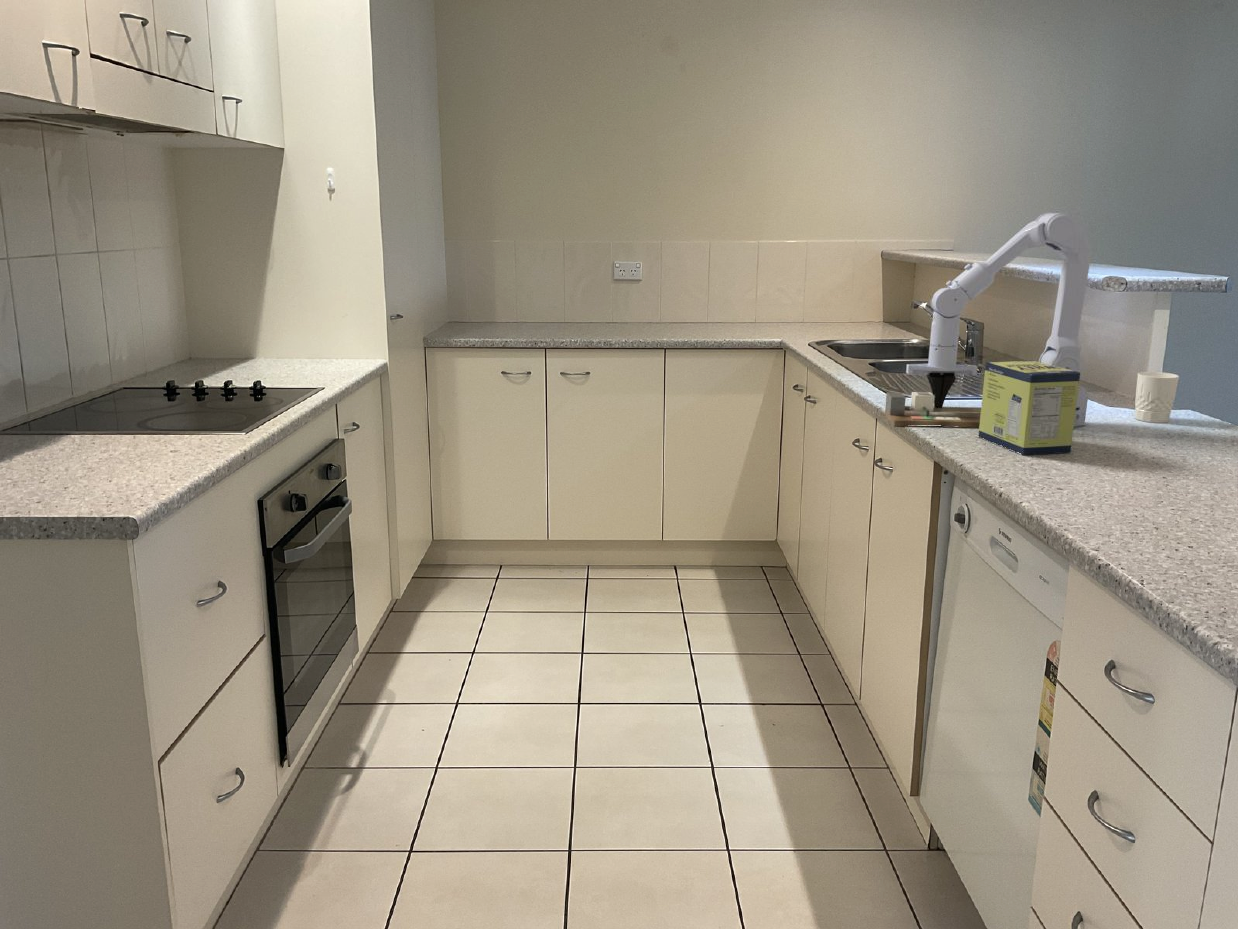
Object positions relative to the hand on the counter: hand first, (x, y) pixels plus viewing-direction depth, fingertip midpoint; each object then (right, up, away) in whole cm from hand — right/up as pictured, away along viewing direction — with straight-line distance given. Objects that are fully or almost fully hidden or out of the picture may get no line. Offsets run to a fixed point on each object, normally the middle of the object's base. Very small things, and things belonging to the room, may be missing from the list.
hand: (938, 407), depth 212 cm
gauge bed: (0, -3, -2) cm, 4 cm away
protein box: (+9, -9, -22) cm, 25 cm away
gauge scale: (-2, -3, -5) cm, 6 cm away
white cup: (+47, -3, +1) cm, 47 cm away
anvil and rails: (0, -1, 0) cm, 1 cm away
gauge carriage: (-4, -1, -1) cm, 4 cm away
